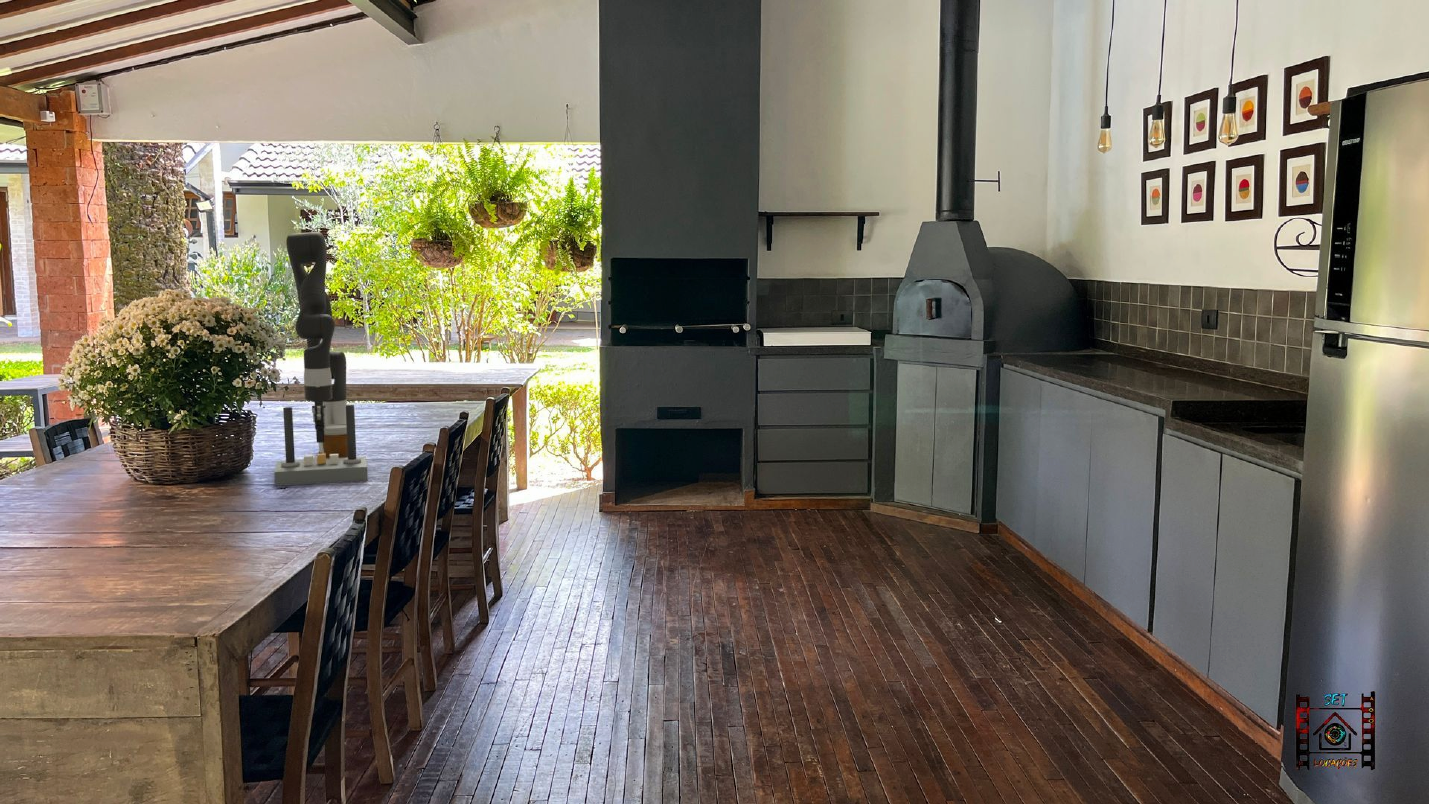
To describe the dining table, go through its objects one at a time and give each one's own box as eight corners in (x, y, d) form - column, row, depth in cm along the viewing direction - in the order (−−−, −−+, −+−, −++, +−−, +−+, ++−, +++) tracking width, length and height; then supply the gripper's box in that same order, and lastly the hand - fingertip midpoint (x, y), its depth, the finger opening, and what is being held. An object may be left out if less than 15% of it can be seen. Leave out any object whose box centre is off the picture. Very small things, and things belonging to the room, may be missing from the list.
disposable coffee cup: (346, 467, 330) (345, 428, 329) (315, 466, 331) (314, 428, 329) (357, 461, 340) (355, 423, 338) (327, 460, 340) (325, 423, 338)
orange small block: (317, 462, 316) (316, 453, 316) (326, 462, 317) (325, 453, 316) (317, 463, 314) (316, 455, 314) (325, 463, 315) (325, 454, 315)
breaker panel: (277, 474, 320) (276, 452, 319) (366, 469, 328) (365, 447, 327) (274, 485, 305) (273, 463, 304) (367, 480, 313) (366, 458, 312)
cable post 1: (281, 464, 314) (278, 406, 312) (300, 463, 316) (297, 406, 313) (280, 467, 310) (277, 409, 307) (299, 466, 311) (296, 408, 309)
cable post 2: (343, 461, 320) (340, 404, 317) (361, 460, 321) (358, 403, 319) (343, 464, 315) (340, 406, 313) (361, 463, 317) (359, 406, 314)
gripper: (304, 381, 317) (307, 438, 320) (303, 386, 305) (306, 447, 307) (331, 380, 319) (334, 437, 322) (331, 385, 307) (334, 445, 310)
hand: (320, 442), depth 315 cm, fingers closed
